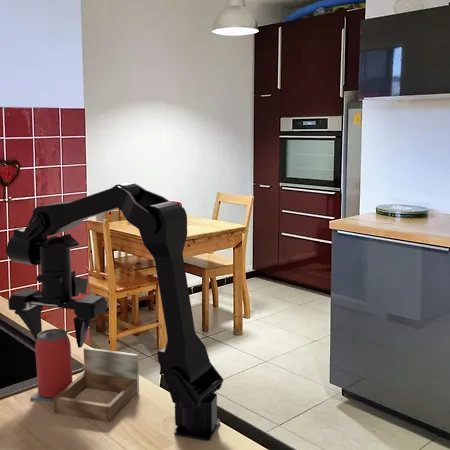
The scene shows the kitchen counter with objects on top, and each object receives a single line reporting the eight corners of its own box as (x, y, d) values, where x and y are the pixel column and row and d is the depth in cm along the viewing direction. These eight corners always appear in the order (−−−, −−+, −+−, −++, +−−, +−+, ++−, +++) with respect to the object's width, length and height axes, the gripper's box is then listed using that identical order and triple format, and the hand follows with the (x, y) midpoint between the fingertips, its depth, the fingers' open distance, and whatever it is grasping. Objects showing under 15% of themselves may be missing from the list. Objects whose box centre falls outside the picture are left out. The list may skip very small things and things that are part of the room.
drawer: (139, 392, 114) (138, 354, 113) (110, 422, 103) (109, 381, 102) (86, 384, 118) (85, 347, 116) (53, 413, 106) (51, 372, 105)
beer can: (61, 380, 118) (58, 325, 116) (79, 391, 114) (76, 333, 111) (31, 392, 113) (27, 334, 111) (49, 403, 109) (45, 343, 107)
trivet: (79, 388, 116) (79, 385, 116) (59, 404, 109) (59, 402, 109) (51, 383, 118) (50, 381, 118) (30, 399, 111) (30, 397, 111)
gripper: (118, 261, 116) (120, 334, 119) (37, 255, 122) (41, 325, 124) (91, 276, 106) (94, 356, 109) (4, 268, 111) (9, 344, 114)
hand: (59, 344), depth 114 cm, fingers open, 9 cm apart
